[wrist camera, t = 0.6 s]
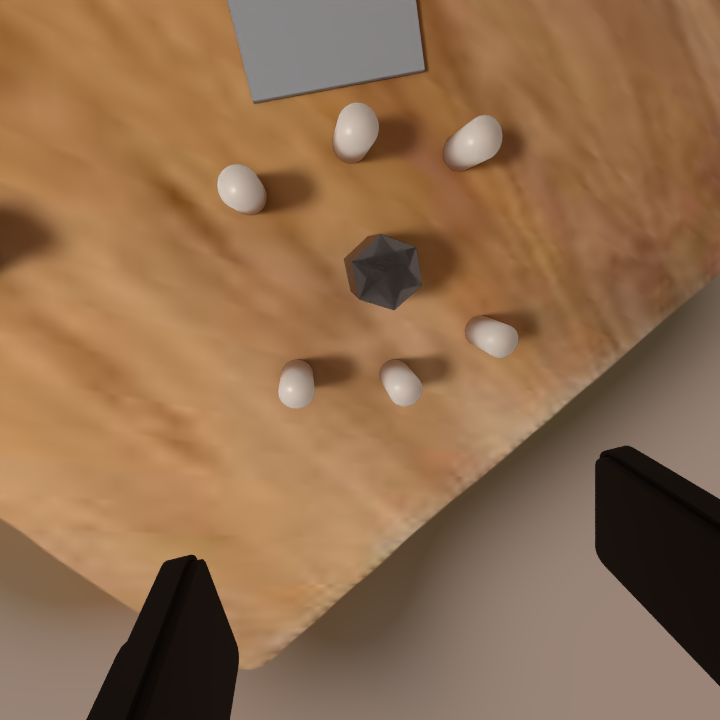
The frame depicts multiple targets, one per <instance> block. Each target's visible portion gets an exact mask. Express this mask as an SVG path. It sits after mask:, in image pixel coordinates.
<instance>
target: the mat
mask: <svg viewBox="0 0 720 720" xmlns="http://www.w3.org/2000/svg"><path fill="white" fill-rule="evenodd" d="M227 1H228V5H229V8H230V12H231V16H232V20H233V24H234V28H235V32H236V36H237V40H238V44H239V48H240V52H241V56H242V60H243V64H244V68H245V72H246V76H247V80H248V84H249V87H250V91H251V95H252V99H253V103H260V102H265V101H270V100H276V99H281V98H286V97H292V96H297V95H303V94H308V93H313V92H319V91H324V90H329V89H335V88H340V87H345V86H351V85H356V84H362V83H367V82H372V81H378V80H383V79H388V78H394V77H399V76H405V75H410V74H415V73H421V72H423V71H424V70H425V68H424V60H423V52H422V44H421V36H420V29H419V21H418V13H417V5H416V0H227Z"/></svg>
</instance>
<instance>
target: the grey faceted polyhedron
mask: <svg viewBox="0 0 720 720" xmlns="http://www.w3.org/2000/svg"><path fill="white" fill-rule="evenodd" d="M344 262H345V267H346V272H347V276H348V281H349V286H350V291H351V292H352V293H353V294H354V295H355V296H356V297H357V298H358V299H360V300H363V301H366V302H369V303H372V304H376V305H379V306H382V307H385V308H388V309H391V310H395V309H396V308H397V307H398V306H400V305H401V304H402V303H403V302H404V301H405V300H406V299H407V298H408V297H409V296H410V295H412V294H413V293H414V292H415V291H416V290H417V289H418V288H419V287H420V286H421V285H422V282H421V275H420V269H419V262H418V256H417V249H416V247H415V246H412V245H409V244H406V243H404V242H401V241H398V240H395V239H392V238H390V237H387V236H384V235H381V234H379V235H372V236H368V237H367V238H366V239H364V240H363V241H362V242H361V243H360V244H359V245H358V246H357V247H356V248H355V249H354V250H353V251H352V252H351V253H350V254H349V255H348V256H346V257H345V258H344Z"/></svg>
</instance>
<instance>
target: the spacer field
mask: <svg viewBox="0 0 720 720" xmlns="http://www.w3.org/2000/svg"><path fill="white" fill-rule="evenodd" d="M378 132H379V123H378V119H377V116H376V114H375V113H374V111H373V110H372V109H371V108H370V107H369V106H367V105H365V104H362V103H352V104H349V105H348V106H346V107H345V108H344V109H343V110H342V111H341V113H340V115H339V117H338V121H337V125H336V128H335V132H334V135H333V141H332V145H333V150H334V152H335V154H336V156H337V157H338V158H339V159H340V160H342V161H343V162H345V163H349V164H353V163H357V162H359V161H361V160H362V159H363V158H364V156H365V155H366V154H367V152H368V151H369V149H370V148H371V146H372V145H373V143H374V142H375V140H376V138H377V136H378ZM501 143H502V129H501V126H500V124H499V123H498V121H497V120H496V119H494V118H493V117H491V116H488V115H482V116H478V117H476V118H475V119H473V120H472V121H471V122H469V123H468V124H467V125H465V126H464V127H463V128H461V129H460V130H459V131H457V132H456V133H455V134H453V135H452V136H451V137H449V138H448V140H447V141H446V143H445V145H444V148H443V158H444V161H445V163H446V165H447V166H448V167H449V168H450V169H451V170H453V171H457V172H460V171H464V170H466V169H468V168H471V167H473V166H475V165H477V164H479V163H481V162H483V161H485V160H487V159H490V158H491V157H493V156H494V155H495V154H496V153H497V152H498V150H499V149H500V146H501ZM217 186H218V192H219V195H220V197H221V198H222V200H223V201H224V202H225V203H226V204H227V205H228V206H230V207H231V208H233V209H235V210H237V211H239V212H241V213H243V214H246V215H254V214H257V213H259V212H260V211H261V210H262V209H263V208H264V206H265V204H266V201H267V194H266V190H265V188H264V186H263V184H262V183H261V181H260V180H259V178H258V177H257V175H256V174H255V173H254V172H253V171H252V170H251V169H250V168H248V167H246V166H244V165H240V164H234V165H230V166H228V167H226V168H225V169H224V170H223V171H222V172H221V174H220V175H219V178H218V184H217ZM465 336H466V339H467V340H468V341H469V342H470V343H471V344H473V345H475V346H477V347H478V348H480V349H482V350H483V351H485V352H487V353H489V354H490V355H492V356H494V357H497V358H503V357H506V356H508V355H510V354H511V353H512V352H513V351H514V350H515V349H516V347H517V344H518V334H517V331H516V330H515V329H514V328H513V327H512V326H510V325H507V324H504V323H502V322H499V321H496V320H494V319H491V318H489V317H486V316H476V317H474V318H472V319H471V320H470V321H469V322H468V324H467V325H466V328H465ZM379 376H380V380H381V382H382V384H383V385H384V387H385V389H386V391H387V392H388V394H389V396H390V397H391V399H392V401H393V402H394V403H396V404H397V405H400V406H409V405H412V404H414V403H415V402H417V401H418V400H419V398H420V397H421V395H422V391H423V387H422V383H421V381H420V380H419V379H418V378H417V376H416V375H415V374H414V373H413V372H412V371H411V370H410V368H409V367H408V366H407V365H406V364H405V363H404V362H403V361H401V360H397V359H393V360H389V361H387V362H386V363H385V364H384V365H383V366H382V367H381V369H380V373H379ZM314 393H315V391H314V378H313V370H312V368H311V366H310V365H309V364H308V363H307V362H305V361H303V360H292V361H290V362H288V363H287V364H286V365H285V366H284V367H283V369H282V373H281V379H280V385H279V397H280V399H281V401H282V402H283V403H284V404H285V405H286V406H288V407H290V408H302V407H305V406H307V405H308V404H309V403H310V402H311V401H312V399H313V397H314Z"/></svg>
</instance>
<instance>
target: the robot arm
mask: <svg viewBox="0 0 720 720" xmlns="http://www.w3.org/2000/svg"><path fill="white" fill-rule="evenodd" d="M595 548H596V552H597V555H598V557H599V559H600V560H601V562H602V563H603V564H604V566H605V567H606V568H607V569H608V570H609V571H610V572H611V573H612V574H613V575H614V576H615V577H616V578H617V579H618V580H619V581H620V582H621V583H622V584H623V586H624V587H626V589H627V590H628V591H629V592H630V593H631V594H632V595H633V596H634V597H635V598H636V599H637V600H638V601H639V602H640V603H641V604H642V605H643V606H644V607H645V608H646V609H647V611H648V612H649V613H650V614H651V615H652V616H653V617H654V618H655V619H656V620H657V621H658V622H659V623H660V624H661V625H662V626H663V627H664V628H665V629H666V630H667V632H668V633H669V634H670V635H671V636H672V637H673V638H674V639H675V640H676V641H677V642H678V643H679V644H680V645H681V646H682V647H683V648H684V649H685V650H686V651H687V652H688V653H689V655H691V657H692V658H693V659H694V660H695V661H696V662H697V663H698V664H699V665H700V666H701V667H702V668H703V669H704V670H705V671H706V672H707V673H708V674H709V675H710V677H711V678H712V679H713V680H714V681H715V682H716V683H717V684H718V685H719V686H720V499H718V498H717V497H715V496H714V495H712V494H710V493H708V492H707V491H705V490H704V489H702V488H700V487H698V486H696V485H695V484H693V483H692V482H690V481H688V480H687V479H685V478H683V477H682V476H680V475H678V474H677V473H675V472H673V471H672V470H670V469H668V468H667V467H665V466H663V465H662V464H660V463H658V462H656V461H655V460H653V459H651V458H649V457H648V456H646V455H644V454H643V453H641V452H640V451H638V450H636V449H634V448H633V447H630V446H622V447H618V448H614V449H610V450H606V451H603V452H602V453H601V454H600V458H599V459H598V460H597V461H596V464H595ZM238 665H239V652H238V646H237V643H236V641H235V638H234V635H233V633H232V630H231V627H230V625H229V622H228V620H227V617H226V614H225V612H224V609H223V606H222V604H221V601H220V599H219V596H218V593H217V591H216V588H215V585H214V583H213V580H212V578H211V575H210V572H209V570H208V567H207V565H206V562H205V561H204V560H203V559H201V560H197V558H196V557H195V556H194V555H188V556H184V557H180V558H176V559H172V560H168V561H166V562H164V563H163V565H162V566H161V568H160V571H159V573H158V575H157V577H156V579H155V582H154V584H153V586H152V588H151V590H150V592H149V595H148V597H147V599H146V601H145V603H144V606H143V608H142V610H141V612H140V614H139V617H138V619H137V621H136V623H135V625H134V628H133V630H132V632H131V634H130V636H129V639H128V641H127V642H126V643H125V644H124V645H123V646H122V647H121V649H120V650H119V652H118V654H117V656H116V657H115V660H114V662H113V664H112V666H111V668H110V670H109V673H108V674H107V677H106V679H105V681H104V683H103V685H102V687H101V690H100V692H99V694H98V696H97V698H96V700H95V702H94V704H93V707H92V709H91V711H90V713H89V715H88V718H87V719H86V720H230V715H231V709H232V703H233V696H234V690H235V684H236V678H237V672H238Z"/></svg>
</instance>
